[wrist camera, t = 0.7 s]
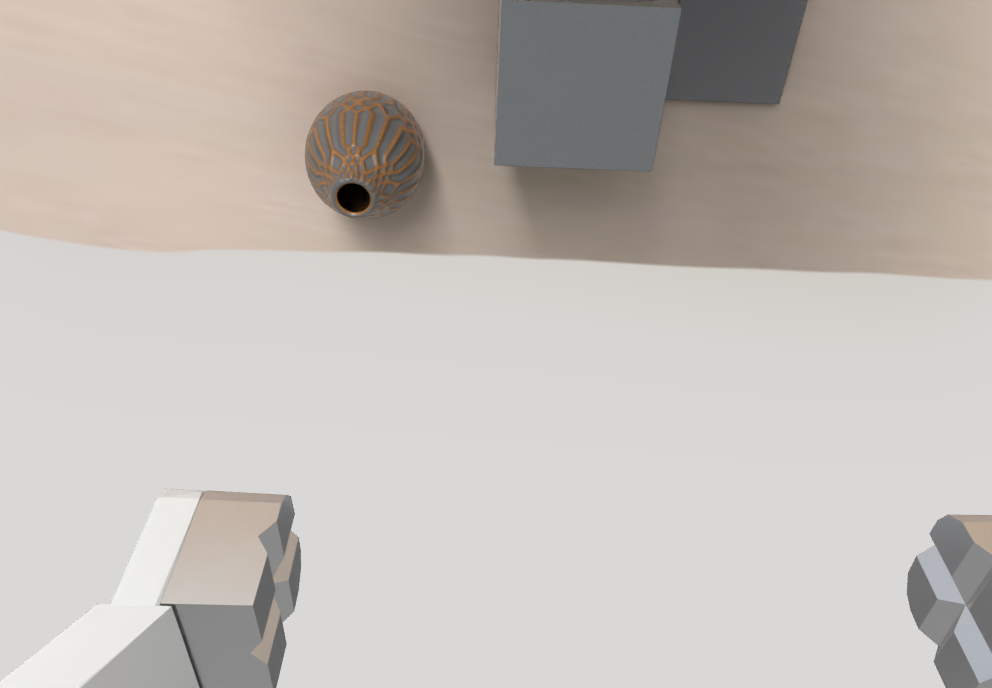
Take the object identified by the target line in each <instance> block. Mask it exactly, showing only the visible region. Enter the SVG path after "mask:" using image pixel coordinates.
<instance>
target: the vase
mask: <svg viewBox="0 0 992 688" xmlns="http://www.w3.org/2000/svg"><path fill="white" fill-rule="evenodd" d="M424 161H425V147H424V141H423V137H422V134H421V131H420V128H419V126H418V124H417V122H416V121H415V119H414V117H413V116H412V115H411V113H410V112H409V111H408V110H407V109H406V108H405V107H404V106H403V105H402V104H401V103H399V102H398V101H396V100H395V99H393V98H391V97H389V96H387V95H384V94H381V93H378V92H372V91H357V92H352V93H348V94H345V95H343V96H341V97H339V98H337V99H335V100H333V101H332V102H331V103H329V104H328V105H327V106H326V107H325V108H324V109H323V110H322V111H321V112H320V113H319V115H318V116H317V118H316V119H315V121H314V122H313V124H312V126H311V128H310V131H309V134H308V137H307V140H306V147H305V163H306V169H307V173H308V177H309V180H310V182H311V184H312V186H313V188H314V190H315V192H316V193H317V195H318V196H319V197H320V198H321V200H322V201H323V202H324V203H325V204H327V205H328V206H329V207H330V208H332V209H333V210H335V211H336V212H338V213H340V214H342V215H345V216H348V217H351V218H355V219H375V218H380V217H383V216H386V215H388V214H390V213H392V212H394V211H395V210H397V209H398V208H400V207H401V206H402V205H403V204H404V203H405V202H406V201H407V200H408V199H409V198H410V197H411V196H412V194H413V193H414V191H415V190H416V188H417V186H418V184H419V182H420V180H421V177H422V173H423V169H424Z"/></svg>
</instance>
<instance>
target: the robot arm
mask: <svg viewBox="0 0 992 688" xmlns="http://www.w3.org/2000/svg"><path fill="white" fill-rule="evenodd" d="M294 515H295V513H294V508H293V504H292V499H291V496H288V495H277V494H276V495H275V494H259V493H241V492H224V491H200V490H179V489H165V490H164V491H163V492H162V494H161V495H160V496H159V497H158V498H157V499H156V500H155V503H154V505H153V507H152V509H151V512H150V514H149V516H148V518H147V521H146V523H145V526H144V527H143V530H142V532H141V534H140V537H139V539H138V541H137V543H136V546H135V548H134V550H133V552H132V555H131V557H130V559H129V561H128V564H127V566H126V568H125V570H124V573H123V575H122V577H121V580H120V582H119V584H118V586H117V589H116V591H115V593H114V595H113V598H112V600H111V602H110V604H96V605H95V606H94V607H92V608H91V609H90V610H89V611H88V612H86V613H85V614H84V615H82V616H81V617H80V618H79V619H77V620H76V621H75V622H74V623H72V624H71V625H70V626H69V627H67V628H66V629H65V630H64V631H63V632H61V633H60V634H59V635H57V636H56V637H55V638H54V639H52V640H51V641H50V642H49V643H47V644H46V645H45V646H44V647H43V648H41V649H40V650H39V651H37V652H36V653H35V654H34V655H32V656H31V657H30V658H29V659H27V660H26V661H25V662H24V663H22V664H21V665H20V666H19V667H17V668H16V669H15V670H14V671H12V672H11V673H10V674H9V675H7V676H6V677H5V678H4V679H2V680H1V681H0V688H276V686H277V682H278V678H279V674H280V670H281V665H282V661H283V657H284V652H285V648H286V639H285V633H284V629H283V623H282V622H283V621H285V620H286V619H287V617H289V616H290V615H291V614H292V613H293V612H294V609H295V605H296V600H297V595H298V590H299V581H300V571H301V550H300V543H299V537H298V536H297V535H295V534H294V533H293V532H292V531H291V527H292V523H293V519H294ZM930 535H931V538H932V540H933V541H934V543H935V545H934V546H933V547H931V548H929V549H928V550H926V551H924V552H923V553H921V554H919V555H918V556H916V558H915V560H914V562H913V565H912V566H911V568H910V570H909V572H908V583H907V596H908V600H909V605H910V609H911V612H912V614H913V617H914V619H915V621H916V623H917V626H918V628H919V630H921V631H922V632H923V633H924V634H925V635H927V636H928V637H929V638H930V639H931V640H932V641H934V642H935V643H936V644H937V645H938V649H937V652H936V656H935V659H934V663H935V665H936V668H937V670H938V672H939V674H940V676H941V678H942V681H943V683H944V685H945V687H946V688H992V515H946V516H944V517H943V518H941V519H939V520H938V521H937V522H936V524H935V526H934V527H933V529H932V531H931V532H930Z"/></svg>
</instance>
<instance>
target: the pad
mask: <svg viewBox="0 0 992 688" xmlns="http://www.w3.org/2000/svg"><path fill="white" fill-rule="evenodd" d="M678 3H679V4H680V6H681V8H682V9H681V14H680V20H679V25H678V31H677V36H676V42H675V47H674V53H673V58H672V64H671V69H670V75H669V80H668V86H667V92H666V97H665V99H669V100H692V101H715V102H739V103H762V104H779V102H780V98H781V95H782V91H783V88H784V84H785V80H786V77H787V73H788V69H789V66H790V62H791V58H792V55H793V51H794V48H795V44H796V40H797V37H798V33H799V29H800V26H801V22H802V18H803V15H804V11H805V7H806V4H807V0H678Z"/></svg>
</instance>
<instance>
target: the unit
mask: <svg viewBox="0 0 992 688" xmlns="http://www.w3.org/2000/svg"><path fill="white" fill-rule="evenodd" d="M681 9H682V8H681V6H680V4H679V3H678V1H677V0H499V21H498V45H497V68H496V97H495V157H494V165H502V166H526V167H551V168H575V169H599V170H624V171H648V172H652V169H653V163H654V158H655V152H656V147H657V141H658V136H659V130H660V125H661V119H662V114H663V108H664V103H665V97H666V92H667V86H668V80H669V75H670V69H671V64H672V58H673V53H674V47H675V42H676V36H677V31H678V25H679V20H680V14H681Z"/></svg>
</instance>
